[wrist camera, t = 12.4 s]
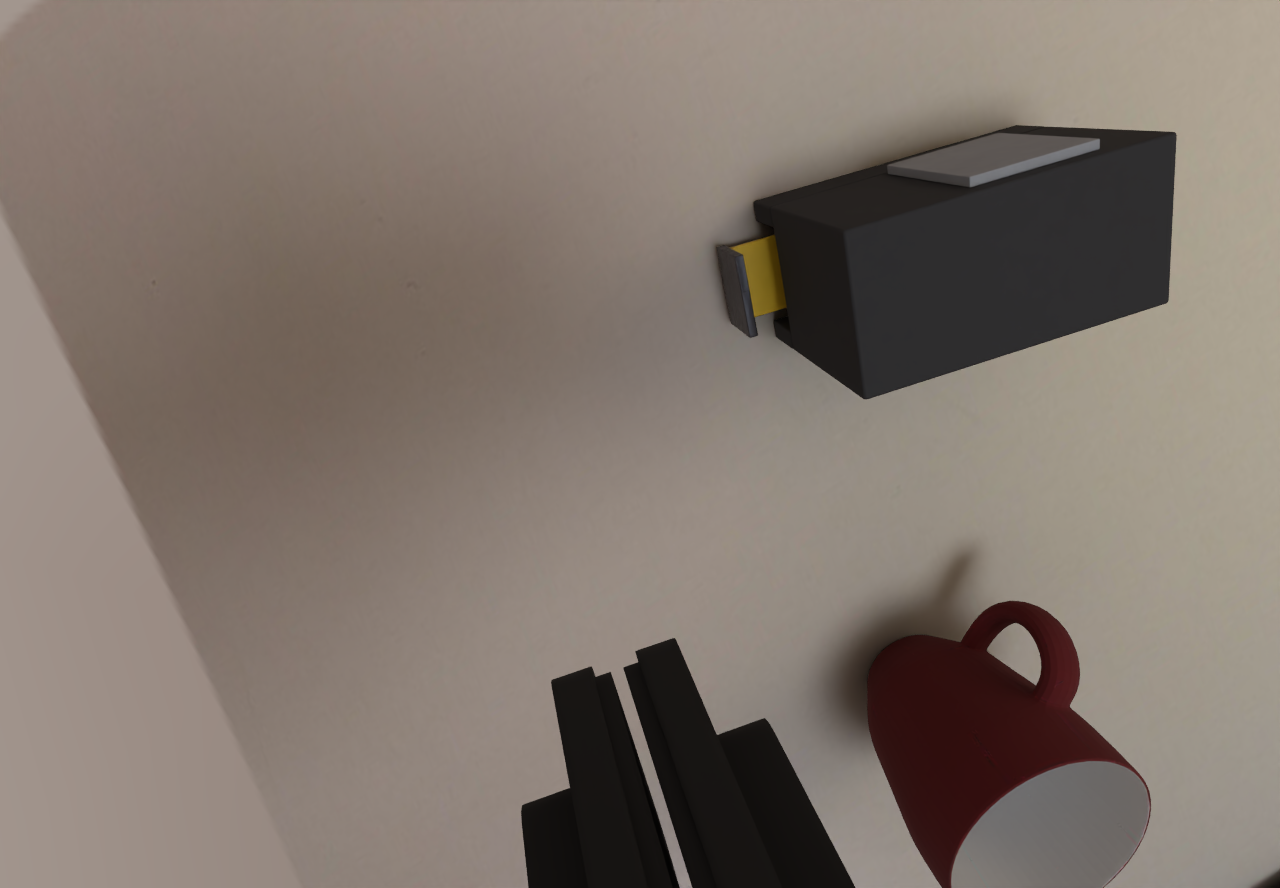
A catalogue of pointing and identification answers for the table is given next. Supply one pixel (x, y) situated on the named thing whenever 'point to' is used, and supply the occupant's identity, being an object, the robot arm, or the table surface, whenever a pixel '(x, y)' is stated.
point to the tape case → (973, 251)
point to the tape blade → (751, 281)
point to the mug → (1002, 761)
